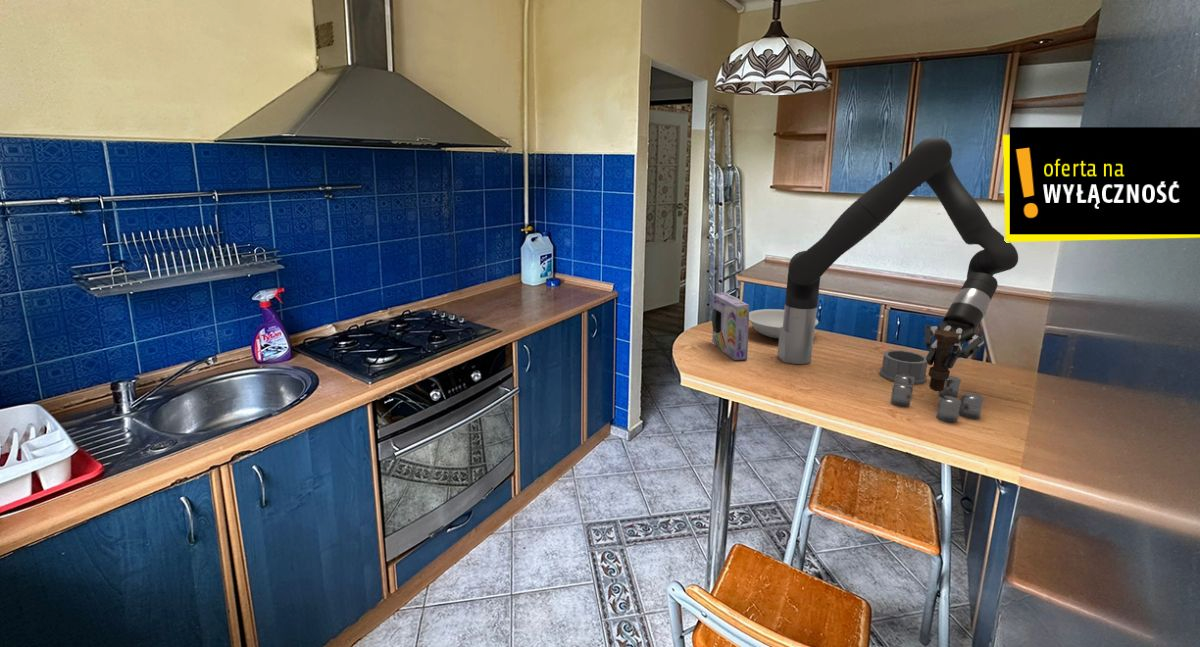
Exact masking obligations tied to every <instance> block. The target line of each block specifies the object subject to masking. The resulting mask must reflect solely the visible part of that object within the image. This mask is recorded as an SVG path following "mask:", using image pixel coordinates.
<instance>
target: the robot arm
mask: <svg viewBox="0 0 1200 647" xmlns="http://www.w3.org/2000/svg"><path fill="white" fill-rule="evenodd" d="M952 157H953V150H952V145H951V144H950V143H949V142H948V141H947V139H945V138H941V137H936V136H934V137H933V136H932V137H928V138H925V139H923V140H921V141H919V143H917V144H916V145H915V147H913V149H912V150H911V151H910V153H909V154H908V155H907V156H906V157H905V158H904V160H902V161H901V162H900V163H899V164H898V165H897V167H896V168H895V169H893V171H892V172H890V174H888V175H887V176H886V177H885V178H883V179H882V180H880V181H879V182H877V183H876V184H875V185H873V186H872V187H870V189H868V190H866V191H865V192H864V193H863V194H862V195H860V197H858V198H857V199H856V200H855V201H854V202H853V203H852V204H850V205H849V207H847V208H846V209H845V210H844V211H843V213H842V214H841V215H840V216H839V217H838V218H837V219H836V220H835V221H834V223H833V224H832V225H831V226H830V228H829V229H828V230H827V231H826V233H825V234H823V236H822V237H821V238H820V239H819V240H818V241H816V242H815V243H814V244H813V245H811V246H810V247H809V248H808V249H807V250H802V251H798V252H797V253H795V254H794V255H793V256H792V257H791V258H790V260H789V264H788V271H787V281H786V289H785V301H784V309H783V310H784V318H783V327H780V335H779V339H778V345H777V346H778V347H777V357H778V358H779V360H780V361H781V362H783V363H787V364H792V365H806V364H810V363H811V361H812V354H813V346H814V339H815V329H816V326H815V322H816V319H817V312H818V305H819V293H820V284H821V283H820V282H821V277H822V275H824V273H826V272H827V270H828V269H830V267H831V266H832V265H833V264H834V263H835V262H836V261H837V260H838V259H839V258H840V257H841V256H843V255H844V254H845V253H846V252H847V251H849V250H851V249H852V248H853V247H854V246H856V245H858V243H860V242H861V241H862V240H863V239H865V238H866V237H868V235H869V234H871V233H872V232H873V231H874V230H876V229H877V228H878V227H879V226H880V225H882V224H883V223H884V222H885V221H886V220H887V219H888V217H890V216H891V215H892V214H893V213H894V212H895V211H896V209H897V208H898V207H899V206H900V205H901V204H902V203H903V201H905V200H906V199H907V197H909V195H911V193H913V191H915V190H916V189H917V188H919V187H920V186H921V185H922V184H924V183H926V184H927V185H928V186H929V187H930V188H931V190H932V191H933V193H934V194H935V196H936V197H937V199H938V200H939V201H940V203H941V205H942V207H943V209H944V210H945V211H946V214H947V216H948V218H949V219H950V221H951V222H952V224H953V226H954V228H955V229H956V231H957V232H958V234H959V235H960V237H961V239H962V240H963V242H964V243H965V244H966V245H970V246H971V245H978V246H980V247H981V248H982V249H981V250H979V251H977V252H976V253H975V254H974V255H973V256H972V258H971V259H970V260H969V264H968V268H967V274H966V280H965V282H964V283H963V285H962V286H961V288H960V290H959V292H958V293H957V294H956V296H955V297H954V298H953V301H952V303H951V304H950V306H949V308H948V310H947V312H946V313H945V315H944V317H943V319H942V321H941V322H940V323H939V324H938V325H937V326H936V325H934V326H931V325H930V324H926V325H925V326H924V344H925V346H926V349H928V350H929V351H928V353H927V355H926V356H925V357H926V360H927V363H928V364H927V366H928V365H929V366H932V365H933V364H934V359H935V354H936V349H937V340H936V339H935V341H934V342H933V336H934V334H935V331H938V330H945V331H951V332H955V333H957V334H959V339H958V342H957V343H955V342H953V347H952V350H951V353H950V354H949V356H948V358H947V360H946V362H945V363H944V368H945V369H946V370H949V371H950V369H952V368H954V365H955V364H956V362H957V360H958V359H959V358H963V359H968V358H969V357H970V356H972V355H973V354H974V353H975V352H977V351H979V349H981V348H982V347H984V345H985V340H984V337H982V336H979V335H976V331H977V330H978V328H979V326H980V325H981V322H982V320H983V319H984V316H986V313H987V310H988V309H989V305H990V302H991V300H992V299H993V297H994V294H995V293H996V291H997V288H998V285H999V284H998V280H997V279H996V277H994V275H996V274H1000V273H1003V272H1007V271H1010V270H1012V269H1013V268H1015V267H1016V266H1017V265H1018V262H1019V253H1018V251H1017V249H1016V247H1015V245H1013V244H1012V242H1010V243H1006V242H1005V241H1004V237H1005V236H1004V235H1002V234H1001V232H999V231H998V230H997V229H996V228H995V227H993V225H992V223H991V222H990V220H989V218H988V216H987V215H986V214H985V213H984V211H983V209H982V208H981V206H980V205H979V204H978V202H977V201H976V200H975V199H974V198H973V195H972V194H970V193H969V192H968V190H967V189H966V188H965V186H964V185H963V184H962V182H961V181H960V179H959V177H958V175H957V174H956V171H955V170H954V167H953V165H952V164H953V163H952V162H951V160H952ZM970 341H971V342H970ZM968 342H970V343H969V344H968V345H966V346H965V347H964V348H963V345H964V344H966V343H968Z"/></svg>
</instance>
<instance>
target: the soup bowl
mask: <svg viewBox="0 0 1200 647" xmlns="http://www.w3.org/2000/svg"><path fill="white" fill-rule="evenodd" d="M783 318H784V309H779V308H778V309H776V308H774V309H773V308H768V309H767V308H766V309H765V308H764V309H756V310H751V311H749V322H750V324H751V325H752V327H753V328H754V329H755V331H757V332H758V333H760V334H761V335H763V336H765V337H769V338H772V339H773V338H774V339H778V340H779V335H780V327H783ZM818 324H819V320H818V318H816V322H815V327H816V326H817V325H818Z"/></svg>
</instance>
